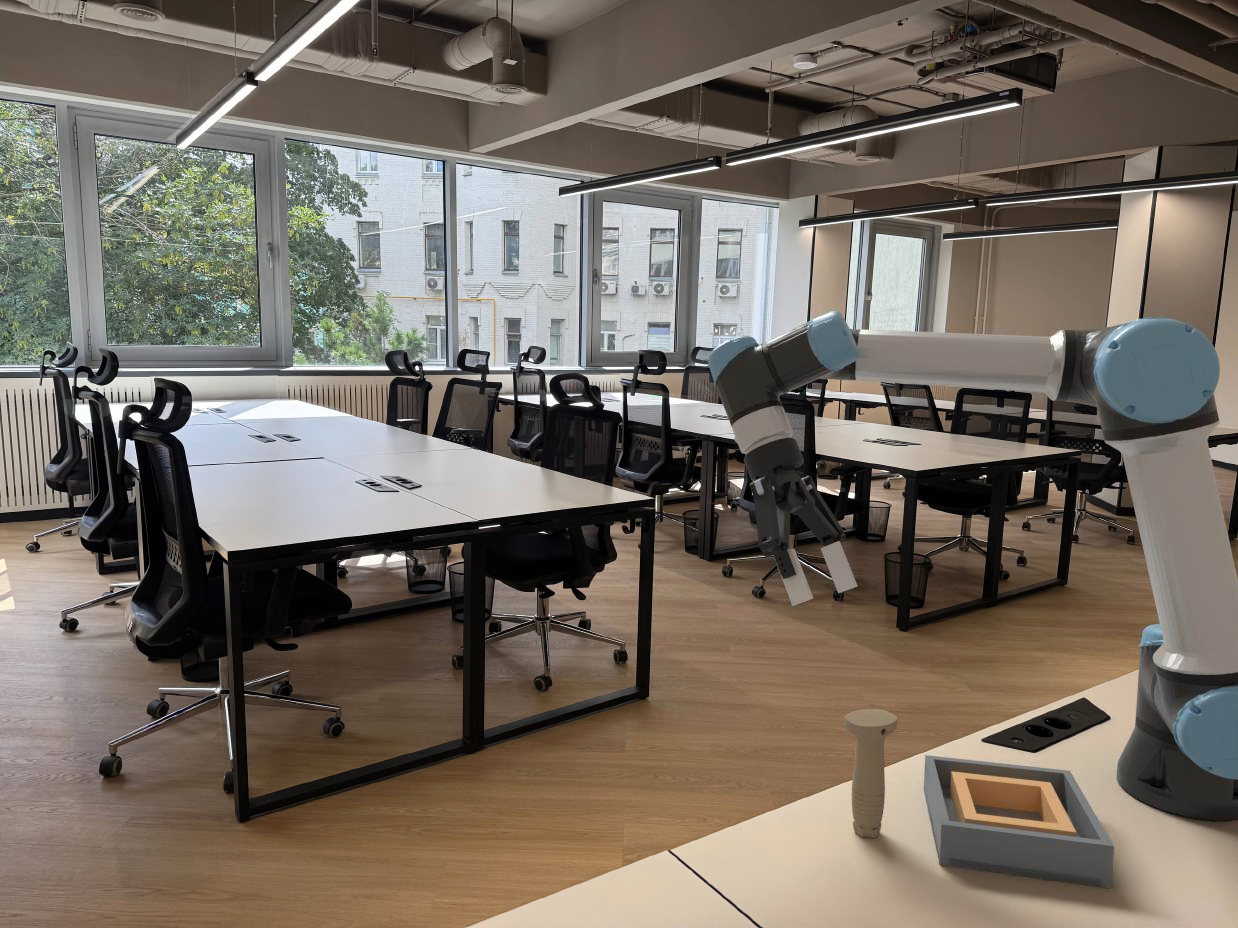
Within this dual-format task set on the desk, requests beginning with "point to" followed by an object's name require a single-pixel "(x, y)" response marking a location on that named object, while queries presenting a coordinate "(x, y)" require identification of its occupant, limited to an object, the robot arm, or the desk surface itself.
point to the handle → (869, 767)
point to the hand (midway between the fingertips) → (826, 596)
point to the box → (1015, 821)
